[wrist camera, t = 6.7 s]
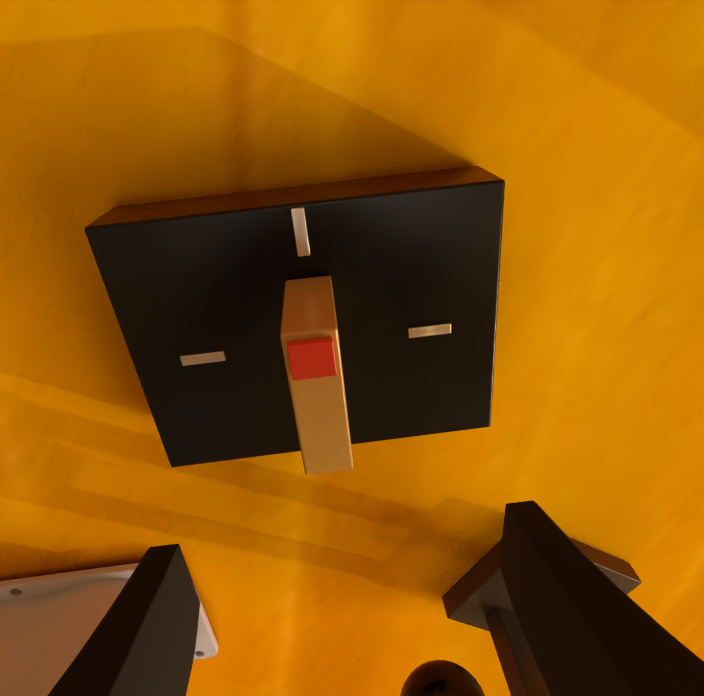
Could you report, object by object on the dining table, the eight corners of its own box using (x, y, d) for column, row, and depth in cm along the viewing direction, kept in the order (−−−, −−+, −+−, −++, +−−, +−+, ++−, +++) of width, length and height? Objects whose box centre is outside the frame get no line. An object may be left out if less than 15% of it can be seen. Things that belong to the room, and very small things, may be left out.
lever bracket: (441, 597, 27) (503, 834, 19) (523, 518, 25) (638, 751, 16) (545, 632, 30) (640, 853, 21) (629, 563, 27) (777, 785, 19)
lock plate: (185, 426, 20) (169, 471, 18) (112, 206, 16) (79, 229, 14) (471, 389, 21) (492, 430, 18) (478, 164, 16) (508, 180, 14)
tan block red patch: (345, 398, 17) (354, 476, 14) (305, 403, 17) (305, 482, 14) (330, 274, 15) (338, 332, 12) (284, 279, 15) (278, 339, 12)
